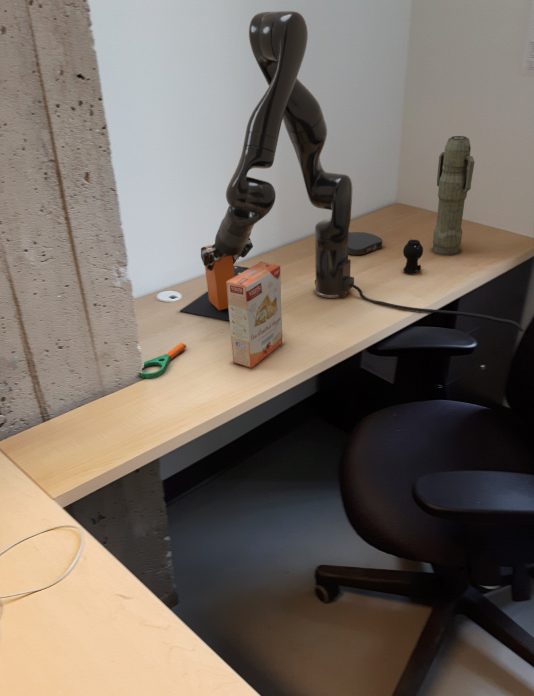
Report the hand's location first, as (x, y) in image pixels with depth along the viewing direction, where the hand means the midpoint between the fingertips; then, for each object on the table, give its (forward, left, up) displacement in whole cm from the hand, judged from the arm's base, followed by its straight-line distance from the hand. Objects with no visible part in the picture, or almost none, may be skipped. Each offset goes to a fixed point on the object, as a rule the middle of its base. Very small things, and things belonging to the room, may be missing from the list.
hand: (219, 265), depth 160 cm
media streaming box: (-17, -59, -13) cm, 63 cm away
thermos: (-46, -66, -13) cm, 82 cm away
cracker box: (-22, +19, -13) cm, 31 cm away
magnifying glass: (-3, +32, -13) cm, 34 cm away
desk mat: (0, 0, -13) cm, 13 cm away
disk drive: (+3, -18, -13) cm, 23 cm away
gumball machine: (-41, -44, -13) cm, 62 cm away
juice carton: (+4, -2, -3) cm, 5 cm away
